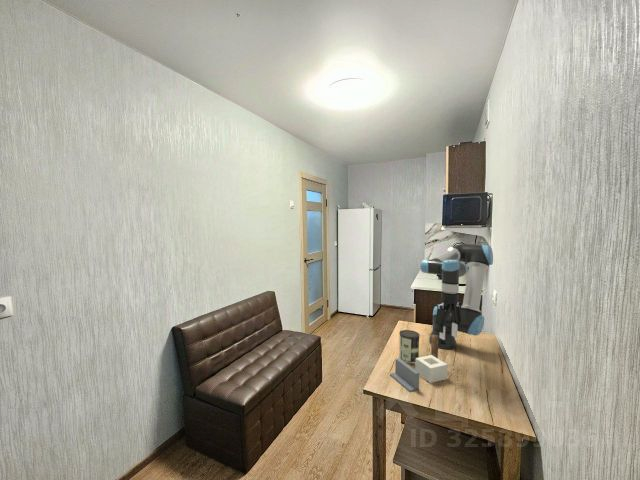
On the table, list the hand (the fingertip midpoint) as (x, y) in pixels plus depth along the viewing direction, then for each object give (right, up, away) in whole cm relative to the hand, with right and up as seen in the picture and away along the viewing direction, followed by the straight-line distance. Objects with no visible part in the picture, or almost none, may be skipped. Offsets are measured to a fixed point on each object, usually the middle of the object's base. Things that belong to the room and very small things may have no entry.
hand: (448, 337), depth 133 cm
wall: (-25, -17, -9) cm, 31 cm away
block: (-10, -17, -3) cm, 20 cm away
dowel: (-5, -17, +6) cm, 18 cm away
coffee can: (-15, -17, +13) cm, 26 cm away
